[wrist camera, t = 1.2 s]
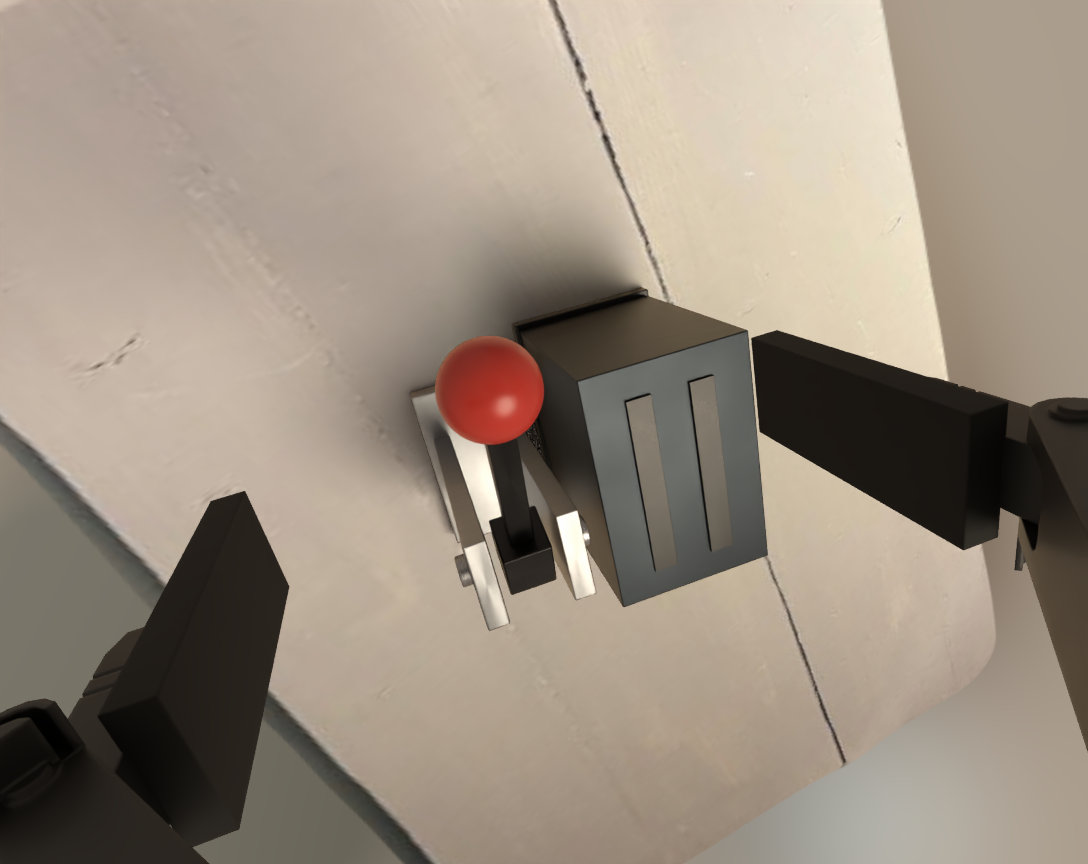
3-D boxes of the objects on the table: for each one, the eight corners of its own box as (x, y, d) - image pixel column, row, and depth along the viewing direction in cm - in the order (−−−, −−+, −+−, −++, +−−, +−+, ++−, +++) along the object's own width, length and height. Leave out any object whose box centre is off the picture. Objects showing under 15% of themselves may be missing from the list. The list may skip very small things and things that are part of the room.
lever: (414, 331, 20) (437, 403, 18) (519, 302, 21) (555, 368, 19) (479, 547, 30) (499, 613, 28) (550, 524, 31) (576, 586, 28)
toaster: (511, 323, 37) (571, 376, 26) (642, 287, 38) (753, 322, 27) (555, 506, 42) (621, 616, 31) (670, 468, 43) (773, 560, 32)
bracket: (409, 392, 37) (430, 492, 24) (507, 364, 38) (576, 446, 25) (455, 534, 41) (493, 684, 28) (542, 506, 42) (617, 638, 29)
